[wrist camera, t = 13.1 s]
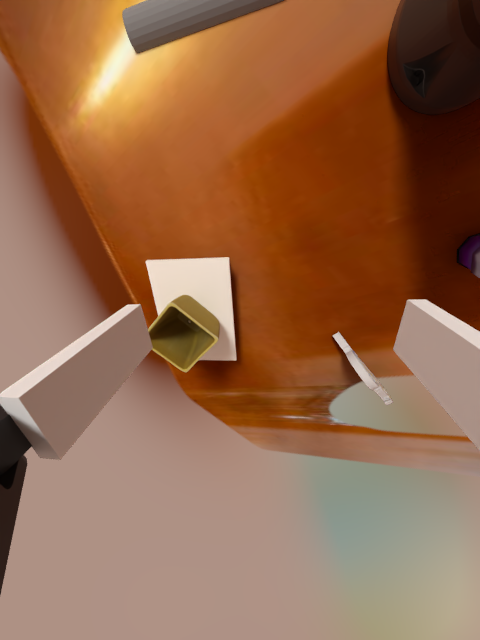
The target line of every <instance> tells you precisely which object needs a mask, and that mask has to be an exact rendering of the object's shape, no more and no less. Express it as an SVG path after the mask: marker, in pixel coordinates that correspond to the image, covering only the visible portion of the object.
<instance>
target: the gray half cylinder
mask: <svg viewBox="0 0 480 640" xmlns="http://www.w3.org/2000/svg"><path fill="white" fill-rule="evenodd" d="M281 1H283V0H146V1H144V2H141V3H139V4H136V5H134V6H131V7H129V8H126V9H124V10H123V14H122V15H123V21H124V25H125V28H126V32H127V34H128V37H129V40H130V42H131V44H132V46H133V48H134V49H135V50H136V52H137V53H140V52H143V51H145V50H148V49H151V48H154V47H156V46H159V45H162V44H165V43H167V42H170V41H173V40H176V39H178V38H181V37H184V36H187V35H190V34H192V33H195V32H198V31H201V30H203V29H206V28H209V27H212V26H214V25H217V24H220V23H223V22H225V21H228V20H231V19H234V18H236V17H239V16H242V15H245V14H248V13H250V12H253V11H256V10H259V9H261V8H264V7H267V6H270V5H272V4H275V3H278V2H281Z"/></svg>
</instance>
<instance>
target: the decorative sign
mask: <svg viewBox="0 0 480 640" xmlns="http://www.w3.org/2000/svg"><path fill="white" fill-rule="evenodd" d="M333 337H334V339H335V340H336V341H337V343H338V344H339V346H340V347H341V348H342V350H343V351H344V352H345V354H346V356H347V358H348V360H349V361H350V363H351V365H352V366H353V368H354V369H355V371H356V372H357V373H358V375H359V376H360V377H361V379H362V380H363V381H364V383H365V384H366V385H367V386H368V387H369V389H371V390H374V391H375V392H376V393H377V394H378V395H379V396H380V398H381V399H382V400H383V401H384V403H385V404H386V405H389V404H391V403H393V401H392V399H391V397H390V396H389V394H388V393H387V392H386V390H385V389H384V387H383V386H382V385H381V383H380V382H379V381H378V380H377V378H376V377H375V376H374V375H373V374H372V373H371V371H370V370H369V369H368V368H367V367H366V365H365V364H364V363H363V362H362V361H361V359H360V358H359V357H358V356H357V354H356V353H355V352H354V351H353V350H352V349H351V347H350V346H349V345H348V343H347V342H346V340H345V339H344V338H343V336H342V335H341V334H340V333H339V332H338V333H336V334H334V335H333Z"/></svg>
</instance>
